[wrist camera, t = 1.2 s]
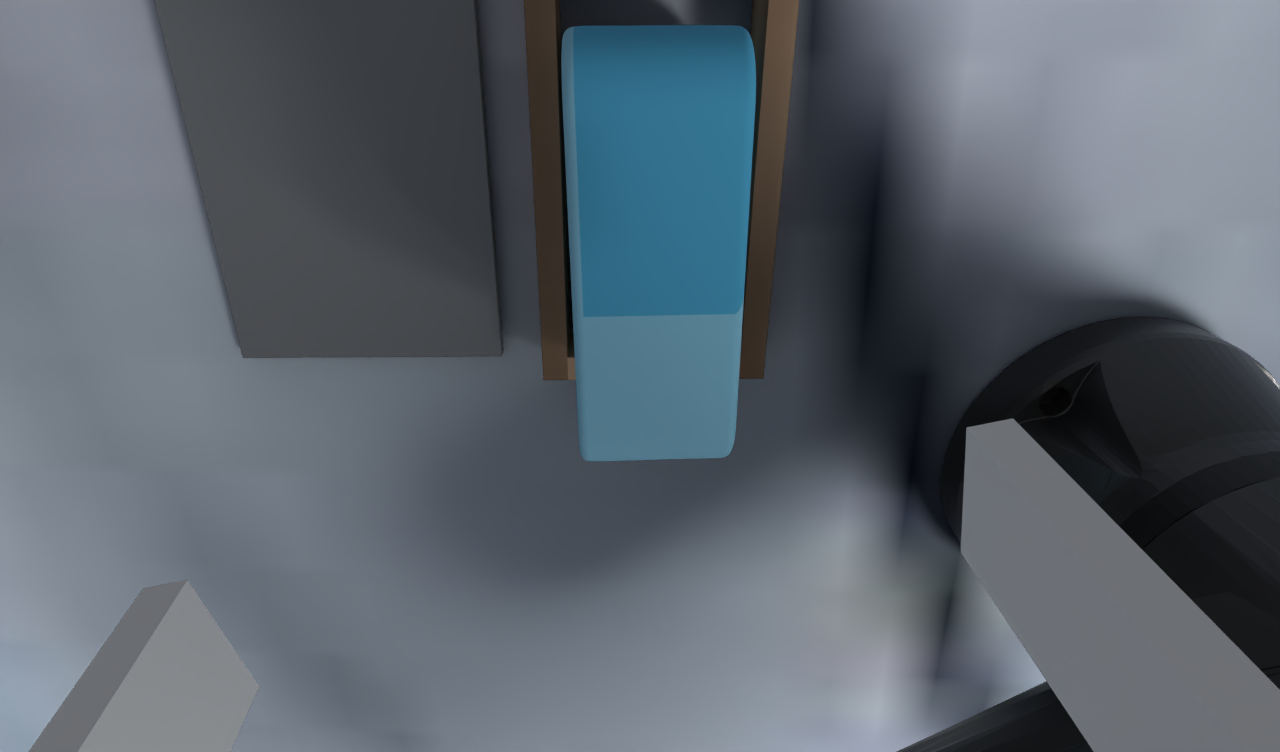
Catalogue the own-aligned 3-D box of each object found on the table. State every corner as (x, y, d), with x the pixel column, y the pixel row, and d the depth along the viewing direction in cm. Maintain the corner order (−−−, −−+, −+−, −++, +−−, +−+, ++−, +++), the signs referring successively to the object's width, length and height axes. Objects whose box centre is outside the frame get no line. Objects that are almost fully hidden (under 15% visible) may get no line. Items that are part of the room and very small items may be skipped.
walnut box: (785, -67, 26) (806, -77, 23) (750, 349, 33) (763, 378, 30) (528, -72, 25) (519, -82, 23) (548, 350, 32) (543, 380, 30)
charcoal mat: (471, -73, 25) (467, -75, 25) (503, 350, 32) (501, 356, 32) (144, -78, 25) (134, -80, 24) (249, 352, 32) (242, 357, 31)
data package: (691, 326, 32) (734, 479, 21) (588, 328, 32) (580, 483, 21) (699, 24, 27) (762, 25, 16) (577, 25, 27) (557, 26, 16)
